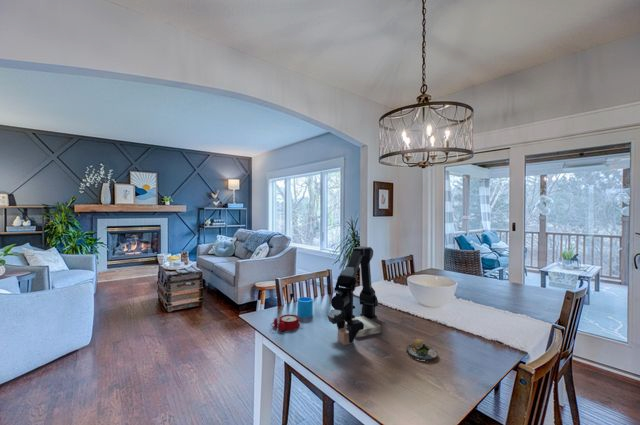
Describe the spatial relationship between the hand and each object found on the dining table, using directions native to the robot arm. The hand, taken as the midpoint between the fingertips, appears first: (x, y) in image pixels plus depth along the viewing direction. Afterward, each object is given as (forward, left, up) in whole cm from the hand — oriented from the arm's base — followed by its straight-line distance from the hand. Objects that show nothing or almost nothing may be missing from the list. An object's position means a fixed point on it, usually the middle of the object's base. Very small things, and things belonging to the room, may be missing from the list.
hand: (345, 338), depth 126 cm
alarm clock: (+18, -25, -2) cm, 31 cm away
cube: (0, 0, -1) cm, 1 cm away
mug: (+3, -38, -1) cm, 38 cm away
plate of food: (-22, +22, -2) cm, 31 cm away
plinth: (-13, -8, -1) cm, 15 cm away
